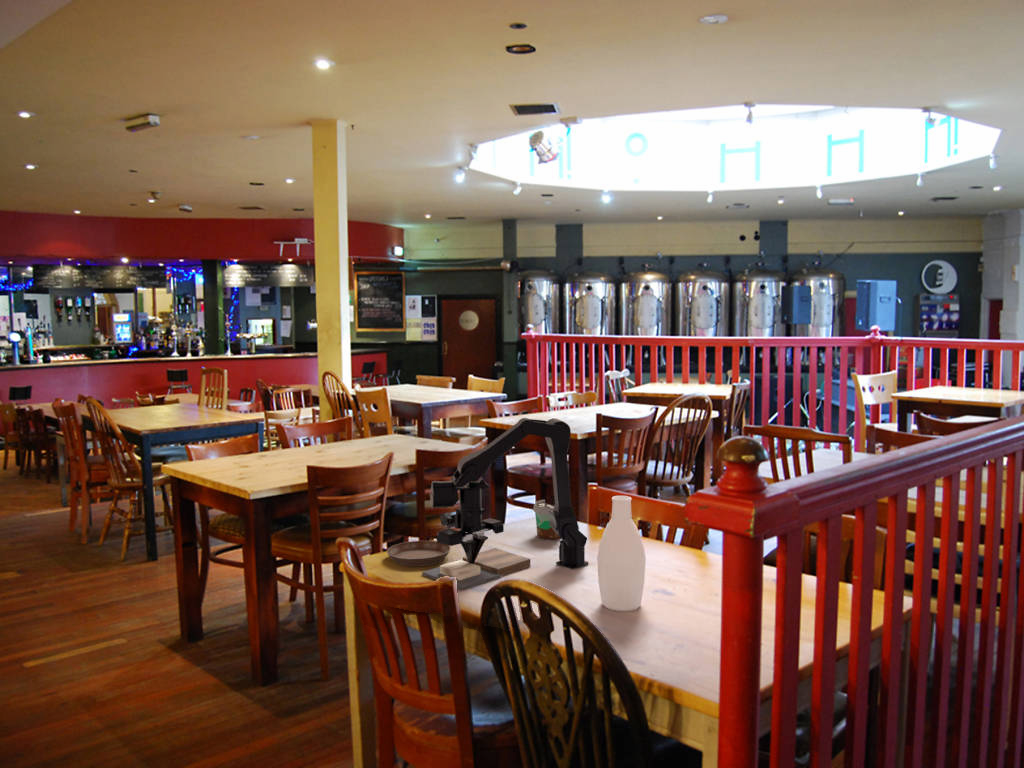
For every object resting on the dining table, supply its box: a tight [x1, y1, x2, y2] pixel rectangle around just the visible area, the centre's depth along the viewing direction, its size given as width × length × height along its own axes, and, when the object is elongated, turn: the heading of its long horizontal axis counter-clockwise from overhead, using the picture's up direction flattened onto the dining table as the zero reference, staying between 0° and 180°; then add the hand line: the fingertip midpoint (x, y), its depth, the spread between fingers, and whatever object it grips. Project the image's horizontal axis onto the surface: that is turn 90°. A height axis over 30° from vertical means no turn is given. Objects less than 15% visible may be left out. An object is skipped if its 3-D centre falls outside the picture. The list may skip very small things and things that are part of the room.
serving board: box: [462, 547, 531, 577], centre depth 215 cm, size 14×12×2 cm
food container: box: [532, 499, 561, 541], centre depth 241 cm, size 12×6×10 cm, turn 25°
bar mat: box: [421, 566, 501, 591], centre depth 206 cm, size 16×13×1 cm
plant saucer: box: [386, 540, 452, 567], centre depth 222 cm, size 18×18×3 cm
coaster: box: [439, 559, 481, 581], centre depth 206 cm, size 8×7×2 cm
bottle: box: [597, 495, 647, 612], centre depth 184 cm, size 11×11×25 cm
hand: (471, 563), depth 208 cm, fingers closed
